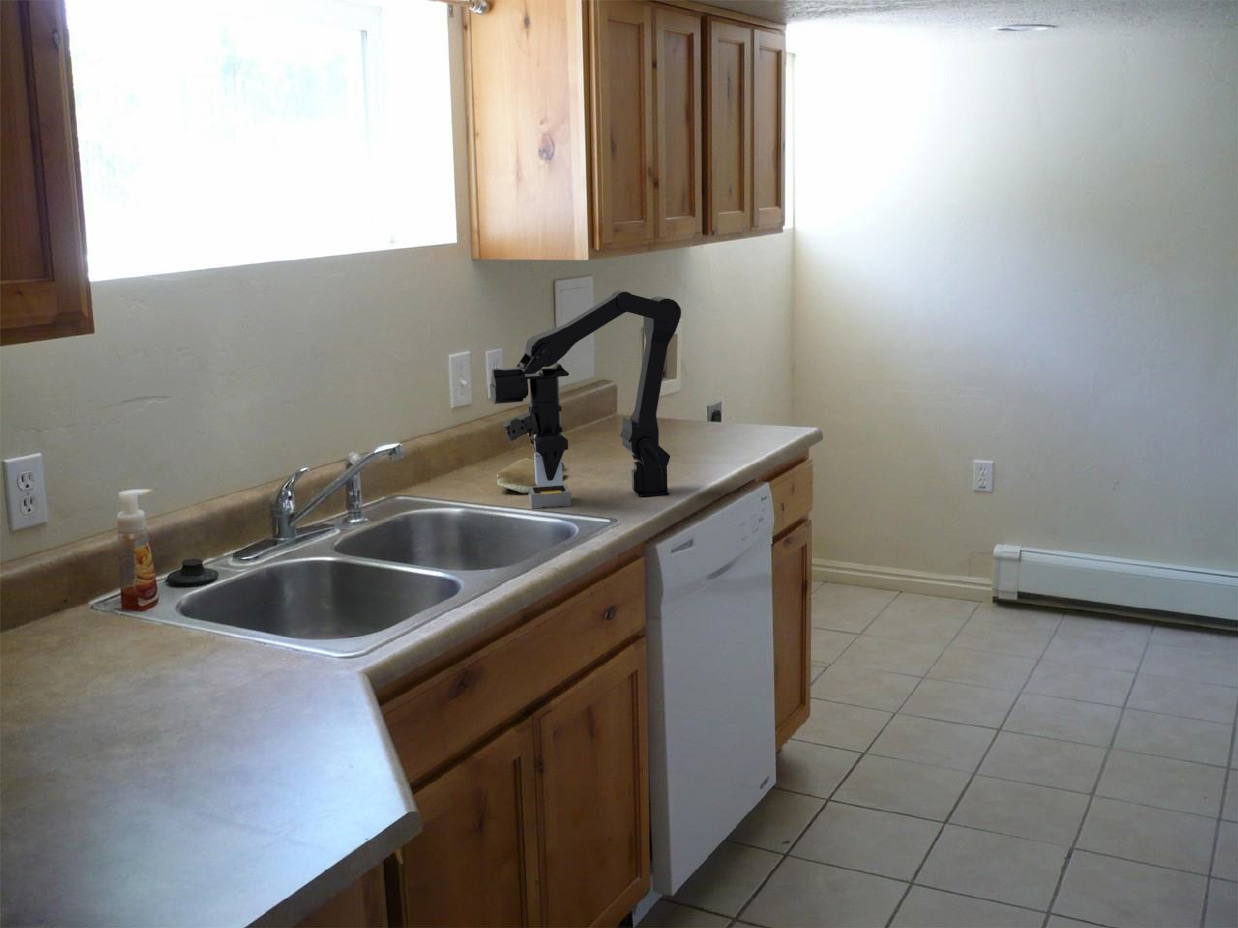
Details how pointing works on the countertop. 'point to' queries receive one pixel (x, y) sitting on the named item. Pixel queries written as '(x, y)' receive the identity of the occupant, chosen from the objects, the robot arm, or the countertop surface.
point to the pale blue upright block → (541, 474)
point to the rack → (549, 496)
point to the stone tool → (519, 476)
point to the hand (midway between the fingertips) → (549, 478)
